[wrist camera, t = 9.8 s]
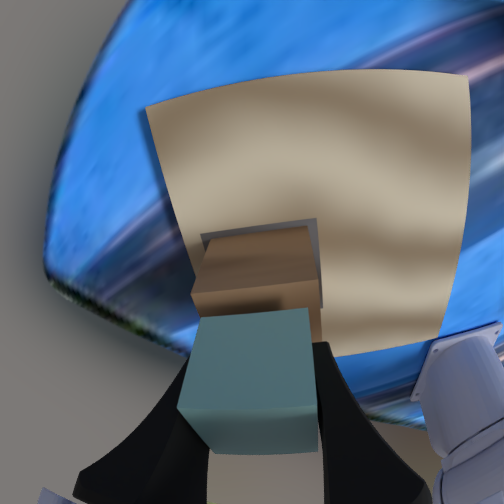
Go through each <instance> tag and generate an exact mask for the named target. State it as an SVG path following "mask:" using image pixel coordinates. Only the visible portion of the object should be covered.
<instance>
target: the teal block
mask: <svg viewBox="0 0 504 504" xmlns="http://www.w3.org/2000/svg"><path fill="white" fill-rule="evenodd" d="M177 409H178V410H179V411H180V413H181V414H182V415H183V417H184V418H185V419H186V420H187V422H188V423H189V424H190V425H191V426H192V428H193V429H194V430H195V431H196V432H197V434H198V435H199V436H200V437H201V438H202V440H203V441H204V442H205V443H206V444H207V445H208V446H209V448H210V449H211V450H212V451H213V452H214V453H215V454H235V455H236V454H237V455H271V454H292V453H306V452H317V451H318V418H317V397H316V384H315V372H314V361H313V351H312V341H311V331H310V322H309V313H308V307H307V308H299V309H290V310H281V311H271V312H261V313H250V314H239V315H226V316H213V317H201V319H200V323H199V326H198V330H197V333H196V337H195V341H194V344H193V348H192V352H191V355H190V359H189V363H188V366H187V370H186V374H185V378H184V382H183V385H182V389H181V393H180V397H179V401H178V405H177Z"/></svg>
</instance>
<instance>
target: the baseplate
mask: <svg viewBox="0 0 504 504" xmlns="http://www.w3.org/2000/svg"><path fill="white" fill-rule="evenodd" d="M145 109H146V113H147V117H148V121H149V124H150V128H151V132H152V136H153V140H154V143H155V147H156V151H157V154H158V158H159V161H160V165H161V169H162V172H163V175H164V179H165V182H166V186H167V189H168V192H169V196H170V199H171V202H172V206H173V209H174V212H175V215H176V218H177V222H178V225H179V228H180V231H181V234H182V237H183V240H184V243H185V246H186V249H187V252H188V255H189V258H190V261H191V264H192V267H193V270H194V273H195V275H196V277H197V274H198V272H199V269H200V266H201V264H202V261H203V258H204V256H205V253H206V250H207V248H208V245H209V242H210V240H211V239H215V238H221V237H228V236H235V235H242V234H249V233H256V232H263V231H270V230H277V229H284V228H292V227H299V226H308V231H309V236H310V240H311V245H312V250H313V255H314V260H315V265H316V270H317V275H318V282H319V295H320V310H321V326H322V342H323V341H327V342H329V344H330V348H331V351H332V354H333V356H334V357H339V356H346V355H353V354H359V353H365V352H371V351H377V350H382V349H388V348H393V347H398V346H403V345H408V344H412V343H417V342H421V341H426V340H430V339H434V338H437V337H438V334H439V331H440V328H441V325H442V321H443V318H444V315H445V312H446V308H447V305H448V301H449V297H450V294H451V290H452V286H453V282H454V278H455V273H456V269H457V264H458V259H459V254H460V249H461V244H462V238H463V232H464V225H465V218H466V211H467V202H468V192H469V180H470V163H471V112H470V96H469V84H468V76H463V75H456V74H448V73H438V72H428V71H413V70H388V69H362V70H336V71H321V72H310V73H300V74H291V75H283V76H276V77H269V78H263V79H257V80H251V81H245V82H240V83H235V84H230V85H225V86H221V87H216V88H212V89H208V90H203V91H199V92H195V93H192V94H188V95H184V96H180V97H177V98H173V99H170V100H167V101H163V102H160V103H157V104H154V105H151V106H148V107H145Z"/></svg>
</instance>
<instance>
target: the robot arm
mask: <svg viewBox="0 0 504 504" xmlns="http://www.w3.org/2000/svg"><path fill="white" fill-rule="evenodd" d="M502 326H503V325H502V323H501V322H497V323H494V324H491V325H488V326H485V327H481V328H478V329H475V330H471V331H468V332H464V333H461V334H457V335H454V336H450V337H446V338H442V339H438V340H435V341H434V342H432V344H431V346H430V349H429V351H428V354H427V357H426V360H425V362H424V365H423V368H422V370H421V373H420V375H419V378H418V380H417V383H416V385H415V387H414V390H413V392H412V394H411V397H410V400H411V401H412V402H413V401H418V400H419V401H420V405H421V408H422V412H423V415H424V419H425V423H426V426H427V430H428V434H429V438H430V442H431V445H432V448H433V449H434V451H435V452H436V453H437V454H438V455H439V456H441V457H443V458H444V459H442V460H441V463H442V469H441V470H440V471H439V472H438V474H437V476H436V479H435V483H434V486H433V493H432V497H431V493H430V490H429V488H428V486H427V484H426V482H425V481H424V479H422V478H421V477H420V476H419V475H418V474H417V473H416V472H415V471H413V470H412V469H411V468H410V467H409V466H408V465H407V464H406V463H405V462H404V461H403V460H402V459H401V458H400V457H399V456H398V455H397V454H396V452H395V451H393V449H392V448H391V447H390V446H389V445H388V443H387V442H386V441H385V440H384V439H383V438H382V437H381V435H380V434H379V433H378V431H377V430H376V429H375V427H374V426H373V425H372V423H371V422H370V421H369V419H368V418H367V416H366V415H365V414H364V412H363V411H362V409H361V407H360V406H359V404H358V403H357V401H356V399H355V398H354V396H353V394H352V393H351V391H350V389H349V387H348V385H347V384H346V382H345V380H344V378H343V376H342V374H341V372H340V370H339V368H338V366H337V363H336V361H335V359H334V356H333V354H332V351H331V348H330V344H329V342H327V341H323V342H315V343H312V351H313V361H314V372H315V384H316V397H317V417H318V423H319V429H320V435H321V441H322V449H323V468H324V469H323V470H324V504H504V367H503V365H502V363H501V361H500V360H499V358H498V356H497V354H496V352H495V350H494V348H493V345H494V343H495V341H496V339H497V337H498V335H499V333H500V331H501V329H502ZM190 355H191V354H190ZM190 355H189V357H188V359H187V360H186V362H185V364H184V365H183V367H182V368H181V370H180V371H179V373H178V374H177V376H176V378H175V379H174V381H173V382H172V384H171V385H170V386H169V388H168V389H167V391H166V392H165V394H164V395H163V396H162V398H161V399H160V401H159V402H158V403H157V404H156V406H155V407H154V408H153V410H152V411H151V412H150V413H149V414H148V416H147V417H146V418H145V419H144V420H143V421H142V422H141V424H140V425H139V426H138V427H137V428H136V429H135V430H134V431H133V432H132V433H131V434H130V435H129V436H128V437H127V438H126V439H125V440H124V441H123V442H121V443H120V444H119V445H118V446H117V447H115V448H114V449H113V450H111V451H110V452H109V453H108V454H106V455H105V456H104V457H102V458H101V459H100V460H98V461H97V462H95V463H93V464H92V465H91V466H89V467H87V468H85V469H84V470H82V471H80V473H79V476H78V478H77V481H76V484H75V488H74V491H73V494H72V495H73V497H75V498H76V499H79V500H81V501H83V502H85V503H87V504H207V471H208V458H209V449H210V448H209V446H208V445H207V444H206V443H205V442H204V441H203V440H202V438H201V437H200V436H199V435H198V434H197V432H196V431H195V430H194V429H193V428H192V426H191V425H190V424H189V423H188V422H187V420H186V419H185V418H184V417H183V415H182V414H181V413H180V411H179V410H178V409H177V405H178V401H179V397H180V393H181V389H182V385H183V382H184V378H185V374H186V370H187V366H188V363H189V359H190ZM432 498H433V502H432ZM37 504H76V503H74V502H72V501H70V500H67V499H65V498H63V497H61V496H59V495H57V494H55V493H53V492H52V491H49V490H48V489H46V488H42V491H41V494H40V497H39V500H38V503H37Z"/></svg>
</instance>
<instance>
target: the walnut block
mask: <svg viewBox="0 0 504 504" xmlns="http://www.w3.org/2000/svg"><path fill="white" fill-rule="evenodd" d="M191 296H192V299H193V302H194V304H195V306H196V309H197V311H198V314H199V316H200V319H201V317H213V316H226V315H239V314H250V313H261V312H271V311H281V310H290V309H299V308H307V307H308V313H309V322H310V331H311V341H312V343H315V342H322V326H321V310H320V295H319V282H318V275H317V270H316V265H315V260H314V255H313V250H312V245H311V240H310V236H309V231H308V226H299V227H292V228H284V229H277V230H270V231H263V232H256V233H249V234H242V235H235V236H228V237H221V238H215V239H211V240H210V242H209V245H208V248H207V250H206V253H205V256H204V258H203V261H202V264H201V266H200V269H199V272H198V274H197V277H196V280H195V283H194V285H193V288H192V291H191Z"/></svg>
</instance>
